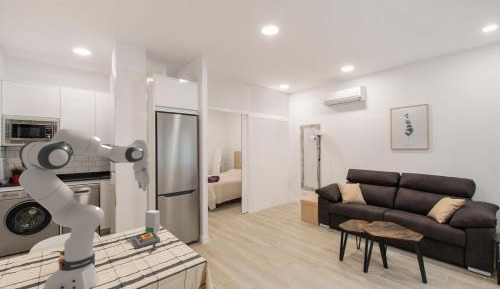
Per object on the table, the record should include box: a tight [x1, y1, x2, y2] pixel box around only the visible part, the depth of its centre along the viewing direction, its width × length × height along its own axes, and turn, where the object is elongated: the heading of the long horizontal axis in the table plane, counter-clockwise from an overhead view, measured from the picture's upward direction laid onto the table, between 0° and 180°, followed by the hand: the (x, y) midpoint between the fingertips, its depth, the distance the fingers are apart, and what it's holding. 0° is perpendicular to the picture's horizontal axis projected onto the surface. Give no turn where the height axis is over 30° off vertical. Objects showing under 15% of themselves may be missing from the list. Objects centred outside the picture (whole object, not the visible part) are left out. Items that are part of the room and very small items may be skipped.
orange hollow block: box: [138, 233, 154, 243], centre depth 156 cm, size 6×8×3 cm
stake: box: [151, 243, 158, 252], centre depth 145 cm, size 3×3×4 cm
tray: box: [133, 232, 161, 248], centre depth 157 cm, size 13×13×2 cm
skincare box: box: [145, 209, 161, 234], centre depth 174 cm, size 8×7×16 cm
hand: (142, 189), depth 140 cm, fingers open, 8 cm apart
